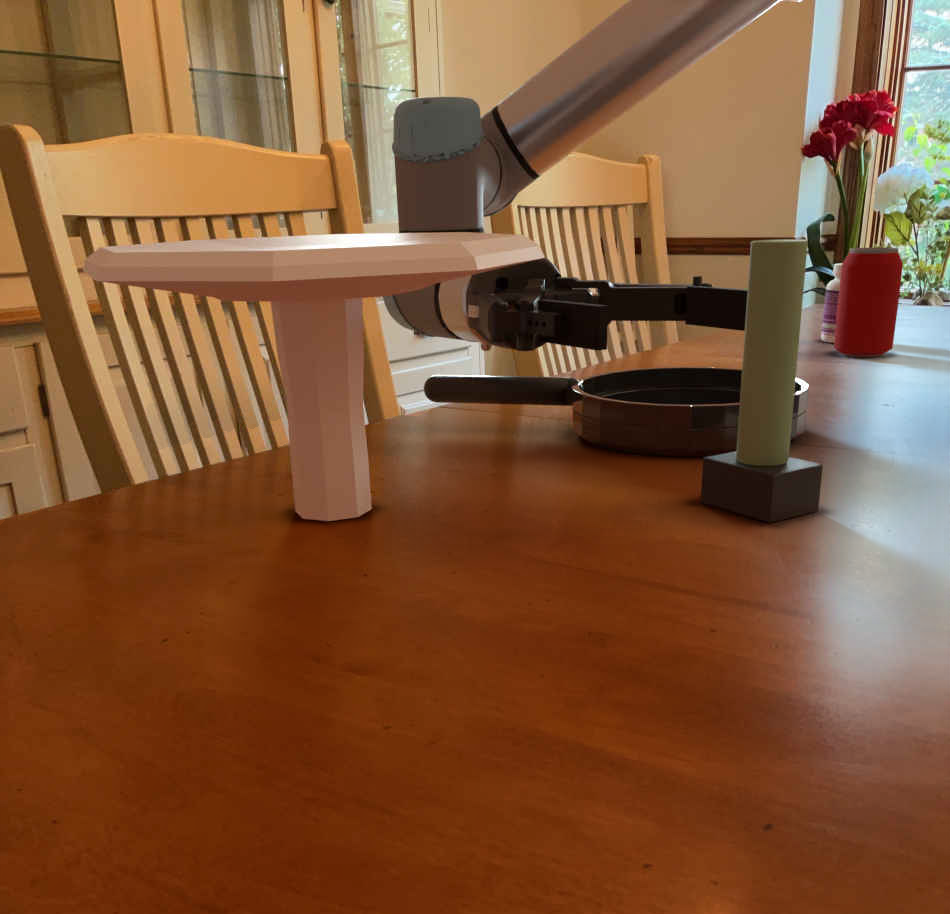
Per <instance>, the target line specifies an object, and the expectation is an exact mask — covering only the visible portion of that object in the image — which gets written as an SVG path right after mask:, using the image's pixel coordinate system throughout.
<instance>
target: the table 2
mask: <svg viewBox="0 0 950 914" xmlns="http://www.w3.org/2000/svg"><path fill="white" fill-rule="evenodd" d="M541 258H546V256H545V255H544V252H543V249H542V247H541V245H539V244H538V243H537V242H535V241H534V240H532V239H531V238H529V237H528V236H526V235H525V234H517V233H515V234H514V233H493V232H492V233H491V232H484V233H472V232H439V233H399V232H390V233H389V232H388V233H387V232H386V233H385V232H383V233H336V234H335V233H333V234H332V233H331V234H309V235H308V234H307V235H305V234H304V235H286V236H285V235H284V236H259V237H235V238H234V237H232V238H211V239H210V238H209V239H207V238H206V239H193V240H190V239H189V240H178V241H164V242H163V241H162V242H152V243H150V242H149V243H137V244H136V243H135V244H123V245H111V246H110V245H109V246H100V247H98V248H97V249H96V250H95V251H94V252H92V253H91V254H89V256H87V257H86V258H85V260H84V263H83V268H82V272H83V273H84V274H85V275H87V276H88V277H89V278H91V279H92V280H94V281H95V282H99V283H108V284H113V285H121V286H127V287H128V286H129V287H137V288H144V289H150V290H158V291H166V292H172V293H178V294H179V293H180V294H185V295H186V294H187V295H195V296H201V297H209V298H214V299H216V300H219V301H222V302H263V303H265V302H266V303H267V302H270V310H271V314H272V315H271V316H272V325H273V331H274V339H275V345H276V353H277V354H276V355H277V359H278V364H279V369H280V376H281V380H282V382H281V383H282V387H283V392H284V398H285V403H286V411H287V425H288V426H287V427H288V442H289V456H290V457H289V459H290V468H291V469H290V470H291V480H292V488H293V490H292V491H293V498H294V499H293V500H294V510H295V513H297V515H298V516H299V517H300V518H301V519H303V520H312V521H313V520H314V521H322V522H332V521H339V520H347V519H354V518H359V517H361V516H362V515H364V514H366V513H368V512H369V511H371V510H373V507H372V493H371V479H370V478H371V476H370V463H369V462H370V460H369V451H368V441H367V440H368V439H367V432H366V422H365V421H366V420H365V411H364V375H365V373H364V371H365V369H364V368H365V367H364V365H365V363H364V362H365V343H364V342H365V340H364V309H363V305H364V304H363V299H367V298H368V299H369V298H383V296H390V295H395V294H400V293H405V292H410V291H415V290H420V289H423V288H425V287H428V286H430V285H432V284H436V283H440V282H444V281H448V280H453V279H457V278H461V277H465V276H469V275H474V274H478V273H482V272H486V271H491V270H495V269H499V268H503V267H507V266H512V265H516V264H520V263H524V262H529V261H533V260H537V259H541Z"/></svg>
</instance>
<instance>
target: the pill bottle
mask: <svg viewBox="0 0 950 914" xmlns="http://www.w3.org/2000/svg"><path fill="white" fill-rule="evenodd" d="M842 263H843V262H841V263H835V264H833V271H832V275H833V276H834V279H832V280H830V281H829V282H828V283H827V284H826V287H825V294H824V304H823V314H822V322H821V335H820V339H821V341H823V342H825V343H830V344H834V339H835V328H836V317H837V307H838V297H839V287H840V278H841V269H842Z"/></svg>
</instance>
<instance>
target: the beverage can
mask: <svg viewBox="0 0 950 914" xmlns="http://www.w3.org/2000/svg"><path fill="white" fill-rule="evenodd" d="M841 263H842V269H841V278H840V287H839V297H838V307H837V317H836V328H835V339H834V343H833V348H834V350H836V351H837V352H838V353H840V355H841V356H845V357H852V358H877V357H882V356H884V355H885V354H886V353H888V352H890V351H891V350H892V349H893V346H894V340H895V334H896V333H895V331H896V323H897V318H898V309H899V302H900V301H899V300H900V293H901V292H900V291H901V285H902V275H903V266H904V263H903V260H902V257H901V255H900V253H899V248H898V247H882V246H881V247H853V248H849V252H848V254H847V255H846V257H845V258H844V260H843V262H841Z"/></svg>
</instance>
